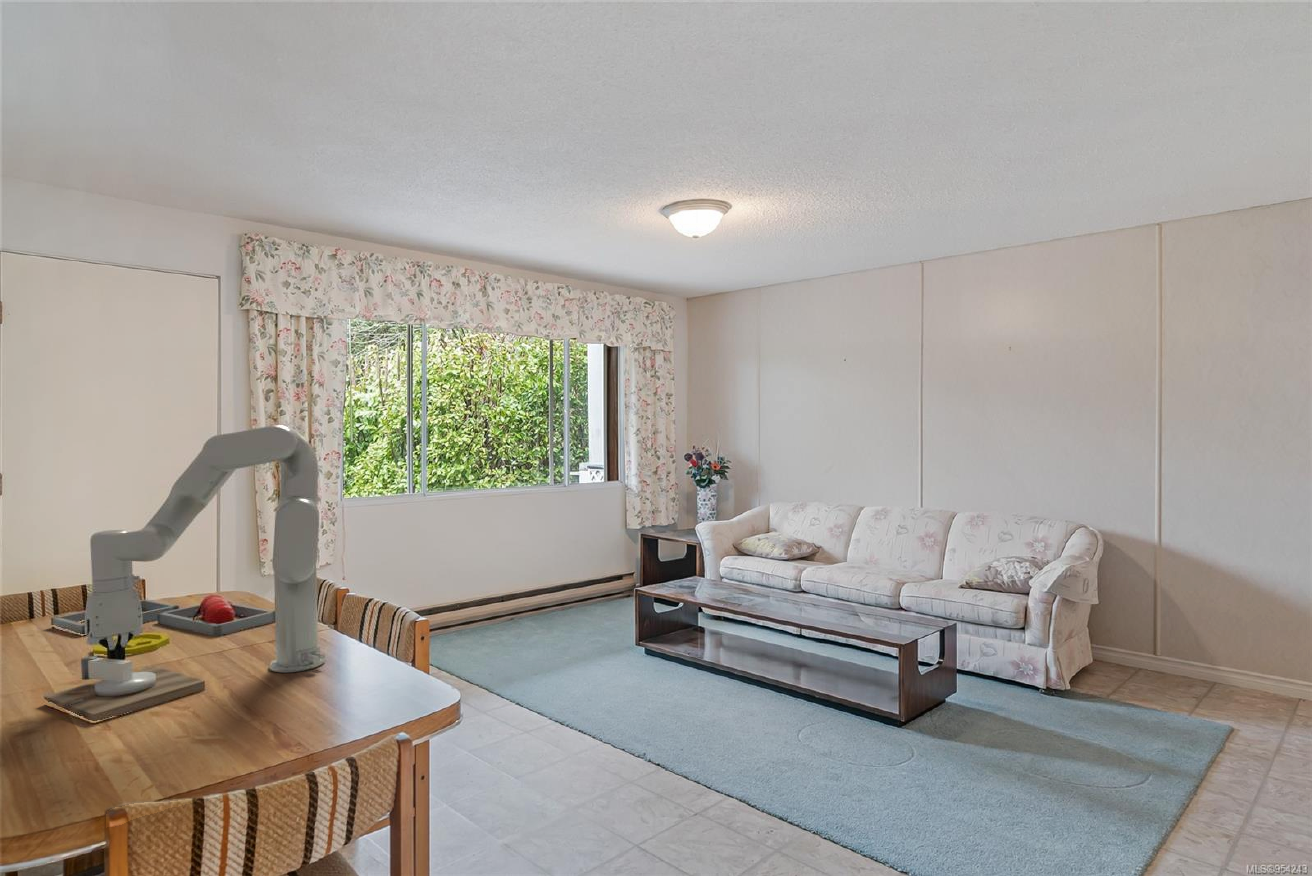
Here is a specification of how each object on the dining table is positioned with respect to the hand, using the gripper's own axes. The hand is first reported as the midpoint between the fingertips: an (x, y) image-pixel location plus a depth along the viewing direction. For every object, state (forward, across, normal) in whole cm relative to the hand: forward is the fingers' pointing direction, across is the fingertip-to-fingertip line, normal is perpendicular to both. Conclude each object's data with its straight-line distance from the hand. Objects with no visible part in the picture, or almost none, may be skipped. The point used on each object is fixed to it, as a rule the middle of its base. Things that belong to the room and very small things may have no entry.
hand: (116, 664), depth 171 cm
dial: (+4, +2, +4) cm, 6 cm away
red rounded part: (+6, -40, -43) cm, 59 cm away
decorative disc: (+6, -16, -35) cm, 39 cm away
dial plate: (+6, +1, +7) cm, 9 cm away
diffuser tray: (+6, -26, -71) cm, 76 cm away
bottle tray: (+6, -42, -42) cm, 60 cm away
